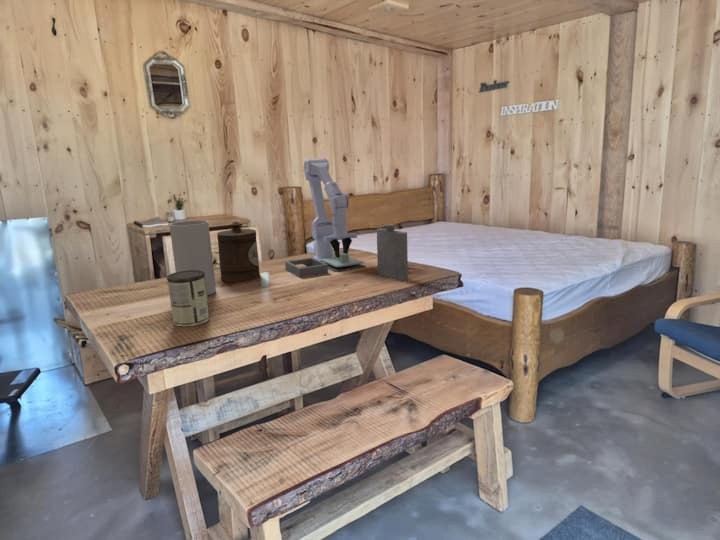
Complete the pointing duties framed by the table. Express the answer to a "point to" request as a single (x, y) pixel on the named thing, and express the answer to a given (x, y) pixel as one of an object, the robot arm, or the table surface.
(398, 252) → the hip flask
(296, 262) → the storage box
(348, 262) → the lid
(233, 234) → the wooden container
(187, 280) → the coffee can
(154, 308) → the table surface
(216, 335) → the table surface
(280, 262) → the table surface
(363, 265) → the mat
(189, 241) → the cylinder vase
